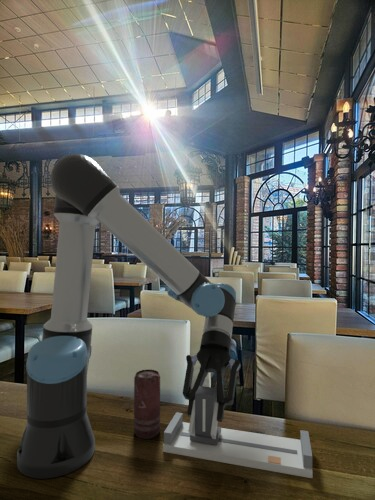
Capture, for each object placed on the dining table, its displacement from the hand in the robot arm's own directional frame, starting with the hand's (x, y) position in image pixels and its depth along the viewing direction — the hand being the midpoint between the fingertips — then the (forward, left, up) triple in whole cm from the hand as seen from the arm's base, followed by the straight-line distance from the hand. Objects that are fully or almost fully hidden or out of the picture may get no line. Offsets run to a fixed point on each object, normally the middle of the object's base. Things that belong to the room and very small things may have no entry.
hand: (202, 434), depth 69 cm
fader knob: (0, +4, -2) cm, 5 cm away
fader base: (+7, +4, -4) cm, 9 cm away
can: (-14, +5, -4) cm, 16 cm away
